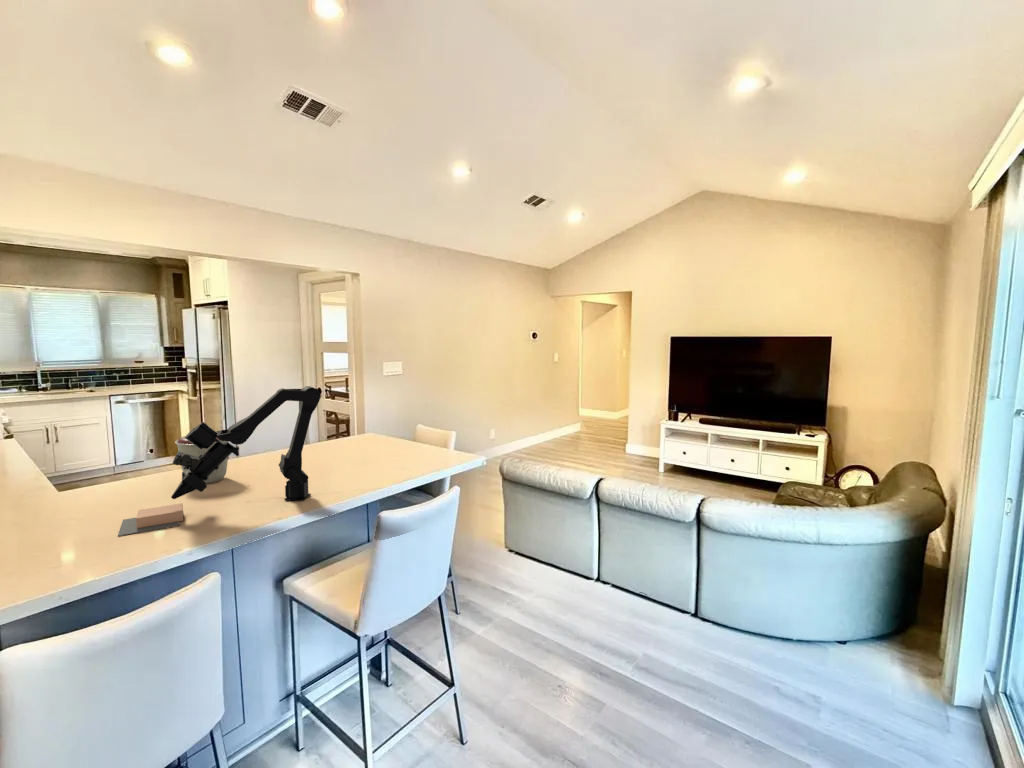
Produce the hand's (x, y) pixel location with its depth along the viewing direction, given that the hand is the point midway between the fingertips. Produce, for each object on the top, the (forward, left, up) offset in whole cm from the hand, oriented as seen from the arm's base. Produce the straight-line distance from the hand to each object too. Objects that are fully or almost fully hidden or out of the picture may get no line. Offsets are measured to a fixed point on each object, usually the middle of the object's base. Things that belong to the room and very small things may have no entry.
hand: (172, 498), depth 144 cm
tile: (-2, -1, -5) cm, 5 cm away
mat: (+4, +3, -7) cm, 9 cm away
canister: (+17, -38, -7) cm, 42 cm away
